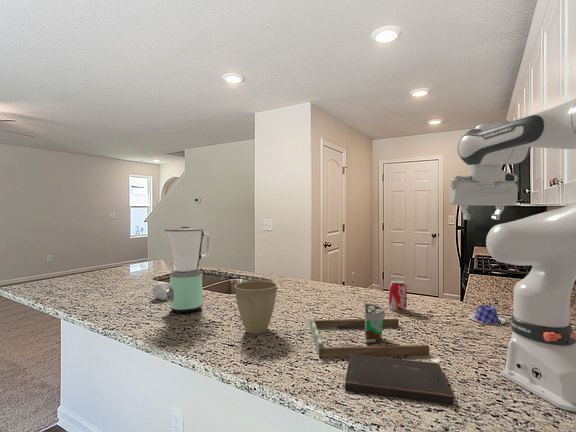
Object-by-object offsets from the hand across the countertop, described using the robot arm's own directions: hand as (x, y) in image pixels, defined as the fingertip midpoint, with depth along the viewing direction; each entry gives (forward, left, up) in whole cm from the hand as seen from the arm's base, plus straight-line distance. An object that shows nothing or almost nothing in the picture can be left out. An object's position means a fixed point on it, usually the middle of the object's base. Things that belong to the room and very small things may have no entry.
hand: (481, 219), depth 104 cm
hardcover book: (-23, +37, -40) cm, 59 cm away
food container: (+2, +34, -39) cm, 52 cm away
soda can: (+32, +15, -39) cm, 52 cm away
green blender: (+37, +103, -39) cm, 116 cm away
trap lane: (+2, +38, -39) cm, 54 cm away
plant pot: (+12, +73, -39) cm, 83 cm away
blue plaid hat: (+18, -14, -39) cm, 45 cm away
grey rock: (+55, +120, -39) cm, 137 cm away
